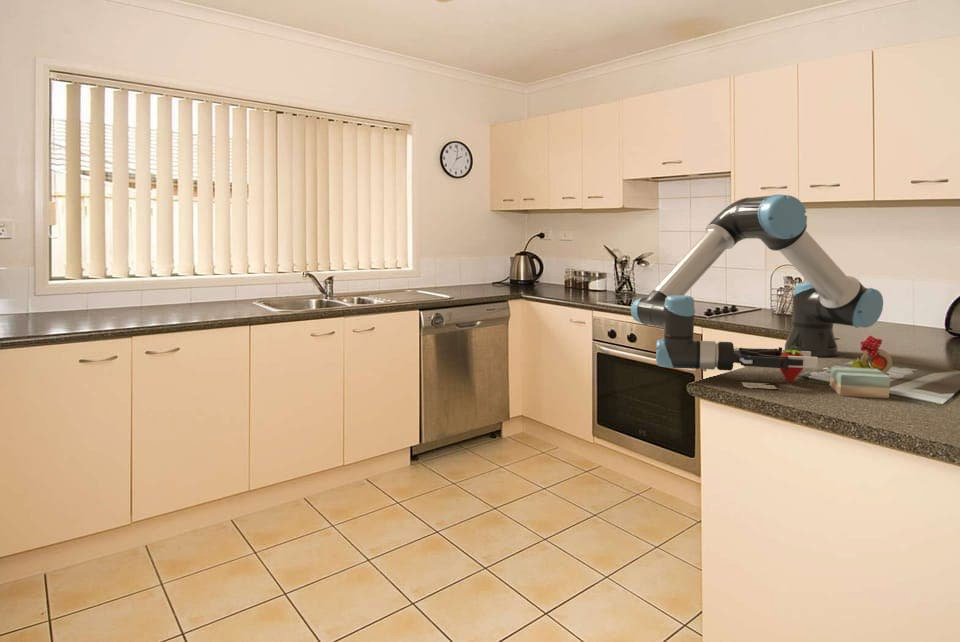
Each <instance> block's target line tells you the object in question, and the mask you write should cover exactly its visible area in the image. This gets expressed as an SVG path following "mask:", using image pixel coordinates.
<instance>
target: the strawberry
mask: <svg viewBox="0 0 960 642" xmlns="http://www.w3.org/2000/svg"><path fill="white" fill-rule="evenodd" d="M793 346H794V345H793ZM793 346H792V347H793ZM792 347H791V348H792ZM791 348H790V349H791ZM783 351H786V352H783ZM800 352H802V351H796V350H785V349H782V352H781V353H785V354H782V355H781V356H782V357H788V356H803V355H801V354H802V353H800ZM803 357H804V356H803ZM781 363H782V361H781ZM779 369H780V372H781V374H782V375H783V376H784V379H786V381H787V382H789V383H791V382H793V381H794V380H795V379H796V378H797V377H798V376H799V375H800V373H801V372H802V371H803V370H804V368H798V367H788V370H785V369H783V368H779Z"/></svg>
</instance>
